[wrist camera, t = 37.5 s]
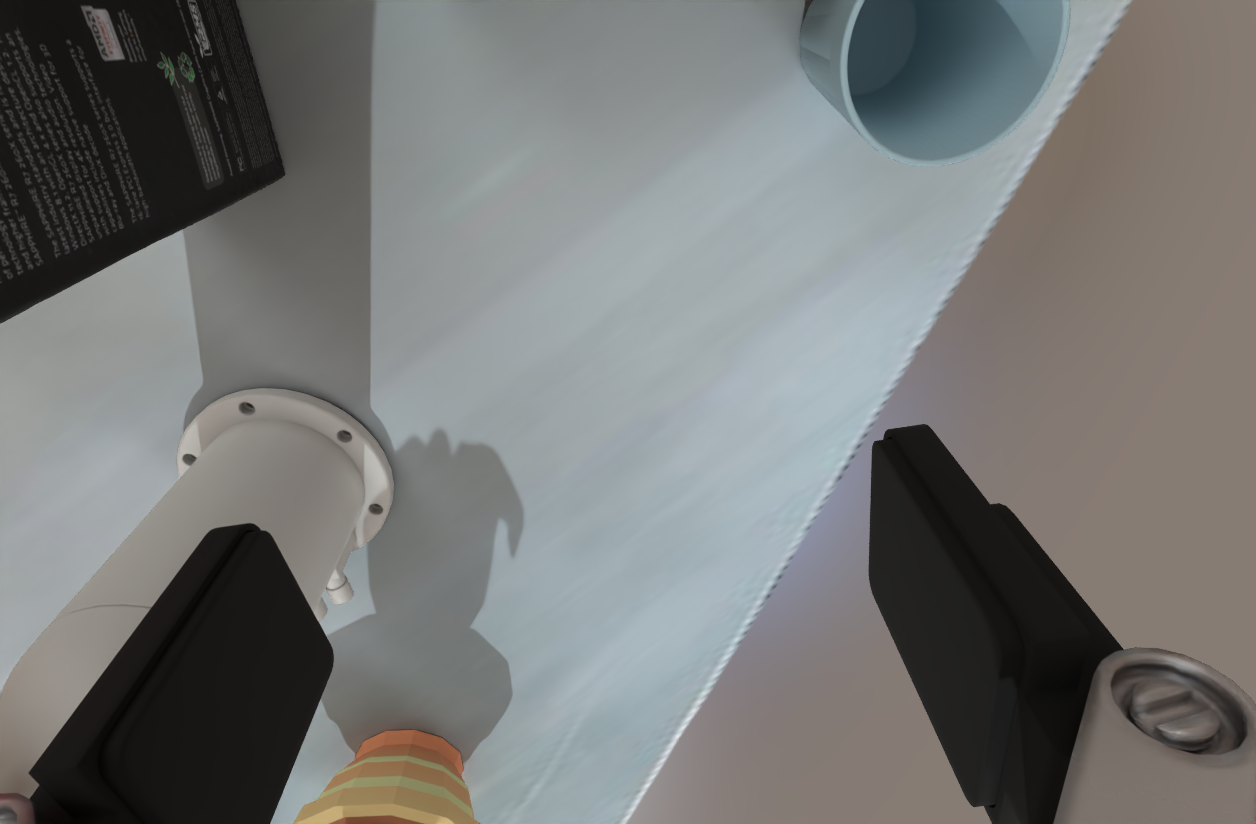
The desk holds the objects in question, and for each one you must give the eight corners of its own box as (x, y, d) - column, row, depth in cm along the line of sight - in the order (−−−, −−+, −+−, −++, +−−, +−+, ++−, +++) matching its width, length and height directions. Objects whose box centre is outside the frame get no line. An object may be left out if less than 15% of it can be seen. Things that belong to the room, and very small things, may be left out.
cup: (748, -4, 32) (808, -5, 23) (912, -102, 30) (1047, -146, 21) (807, 151, 35) (880, 202, 26) (957, 70, 34) (1088, 96, 25)
